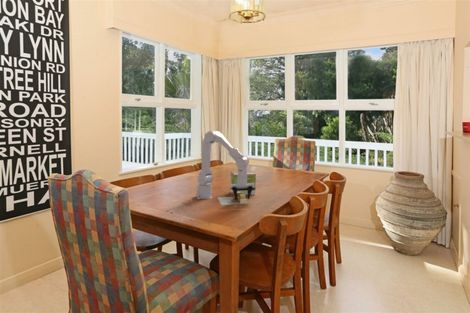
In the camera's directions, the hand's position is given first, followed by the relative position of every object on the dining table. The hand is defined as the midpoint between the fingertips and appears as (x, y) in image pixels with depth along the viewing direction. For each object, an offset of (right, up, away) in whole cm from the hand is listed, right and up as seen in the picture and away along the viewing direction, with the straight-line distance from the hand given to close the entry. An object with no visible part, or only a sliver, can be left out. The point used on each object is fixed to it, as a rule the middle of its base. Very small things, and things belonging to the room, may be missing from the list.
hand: (242, 198), depth 191 cm
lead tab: (0, -2, 0) cm, 2 cm away
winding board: (-6, -2, +5) cm, 8 cm away
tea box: (+1, 0, +24) cm, 24 cm away
